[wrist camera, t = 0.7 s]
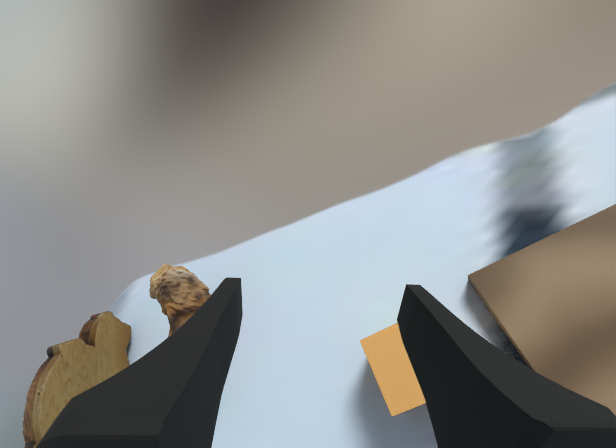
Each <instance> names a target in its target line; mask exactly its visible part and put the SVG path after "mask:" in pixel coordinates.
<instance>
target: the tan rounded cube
mask: <svg viewBox="0 0 616 448" xmlns="http://www.w3.org/2000/svg"><path fill="white" fill-rule="evenodd" d="M360 342H361V345H362V347H363V349H364V352H365V354H366V357H367V359H368V361H369V364H370V366H371V368H372V371H373V373H374V376H375V378H376V380H377V383H378V385H379V387H380V390H381V392H382V394H383V397H384V399H385V402H386V404H387V406H388V409H389V411H390V413H391V416H395V415H397V414H400V413H402V412H405V411H407V410H410V409H412V408H415V407H417V406H420V405H422V404H425V403H426V401H425V398H424V396H423V393H422V390H421V387H420V385H419V382H418V380H417V377H416V375H415V372H414V370H413V367H412V365H411V362H410V360H409V357H408V355H407V352H406V349H405V347H404V344H403V342H402V338H401V334H400V330H399V326H398V323H396V324H394V325H392V326H390V327H388V328H386V329H384V330H381V331H379V332H377V333H375V334H373V335H371V336H369V337H367V338H364V339H362V340H360Z"/></svg>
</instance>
